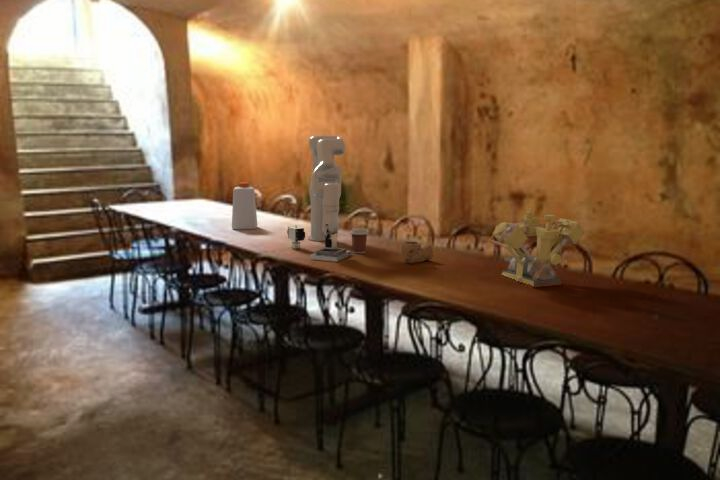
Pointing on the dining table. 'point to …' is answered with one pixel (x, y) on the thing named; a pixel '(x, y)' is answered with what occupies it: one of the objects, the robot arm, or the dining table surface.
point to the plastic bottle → (244, 208)
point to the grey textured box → (416, 251)
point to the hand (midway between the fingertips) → (331, 245)
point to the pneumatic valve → (296, 235)
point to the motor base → (330, 254)
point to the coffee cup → (359, 239)
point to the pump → (333, 241)
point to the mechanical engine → (547, 247)
